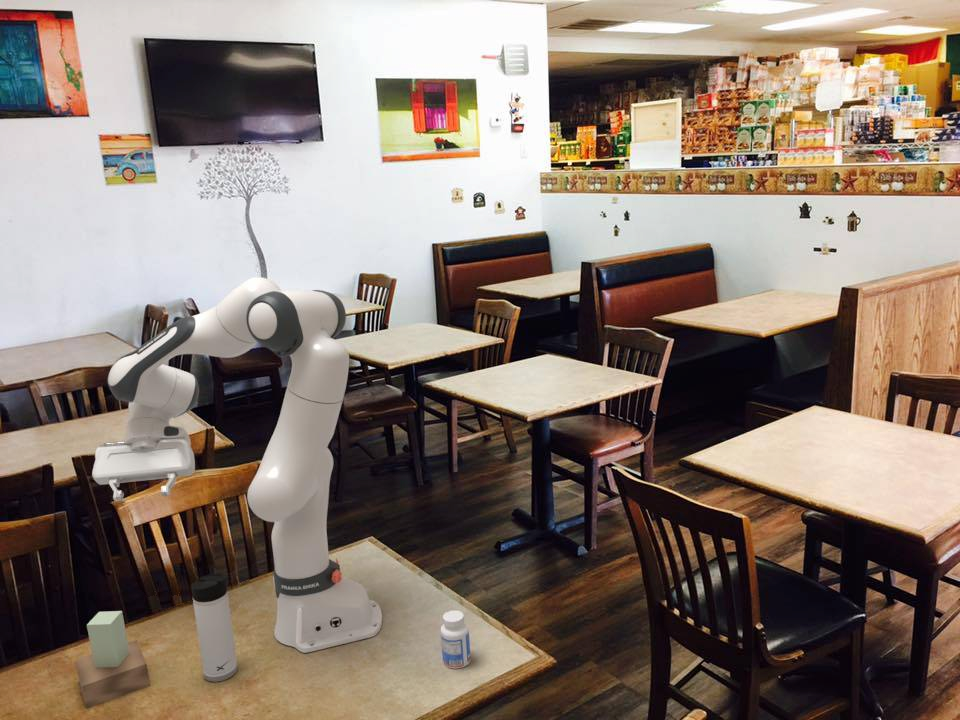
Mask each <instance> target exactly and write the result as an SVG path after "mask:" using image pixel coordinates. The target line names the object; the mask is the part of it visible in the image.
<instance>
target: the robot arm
mask: <svg viewBox="0 0 960 720" xmlns="http://www.w3.org/2000/svg"><path fill="white" fill-rule="evenodd" d="M346 318H347V314H346V309H345V306H344V304H343V301H341V299H340V298H339V297H337V295H335V294H334V293H331V292H329V291H325V290H320V289H313V290H311V289H310V290H307V289H300V288H299V289H298V288H295V289H285V290H281V288H280V287H279V286H278V285H277V284H276V283H275V282H273V281H272V280H270V279H269V278H266V277H262V276H261V277H260V276H254V277H251V278H248V279H247V280H245V281H244V282H241V283H240V284H238V286H236V287H234V288H233V289H232V291H230V292H229V293H228V294H226V295H225V296H224V297H223V298H222V299H221V300H220V301H219V302H218V303H217V304H215V305H214V306H213V307H211V308H209V309H207V310H205V311H203V312H200V313H198V314H195V315H190V316H184V317H181V318H179V319H177V320H176V321H174V322H173V323H172V324H170V325H169V326H167V327H166V328H165V329H164V328H163V330H161V331H160V332H159V333H157V334H156V335H154V336H153V337H152V338H150V339H149V340H147V341H146V342H145V343H143V344H142V345H140V346H139V347H138V348H137V349H135V350H133V351H131V352H128V353H126V354H124V355H123V356H120V358H118V359H117V360H116V361H115V362H114V363H113V364H112V366H111V368H110V370H109V372H108V375H107V385H108V388H109V390H110V392H111V393H112V395H113V396H114V398H115V399H116V400H117V401H122V402H126V403H127V402H128V409H127V411H128V414H129V417H128V420H127V421H126V427H125V428H126V429H125V435H124V436H125V437H124V440H121V441H113V442H111V441H109V442H104V443H103V444H101V445H99V446H98V447H97V448H96V449H95V452H94V453H95V454H94V459H95V460H94V463H93V466H92V467H93V468H92V472H91V473H92V474H91V476H92V479H93V480H94V481H95V482H96V483H97V484H98V485H100V486H102V485H109V486H110V488H111V489H112V491H113V495H112V499H113V500H114V502H123V501H124V495H125V494H124V492H123V491H122V490H120V489H118V488H120V484H122V483H130V482H133V483H134V482H141V481H153V480H162V479H168V480H167V482H166V484H165V485H161V487H160V495H161V497H171V490H172V488H173V487H174V486H175V484H176V483H177V482H178V481H177V480H178V478H182V477H191V476H192V475H193V474H194V473H195V471H196V463H195V462H196V460H195V459H196V458H195V454H194V450H193V448H192V447H191V445H192V442H191V441H192V440H191V437H190V435H189V434H188V432H187V431H186V430H185V428H183V427H180V426H174V425H170V421H171V419H173V418H174V419H176V418H178V417H180V416H182V415H184V414H186V413H188V412H190V411H191V410H192V409H193V408H194V407H195V406H196V405H197V403H198V399H199V394H200V387H199V383H198V379H197V378H196V376H195V375H194V374H192V373H190V372H188V371H184V370H182V369H180V368H176V367H173V366H169V365H166V364H165V363H167V362H168V361H170V360H171V359H172V358H174V357H176V356H181V355H203V356H210V357H216V358H228V359H229V358H235V357H236V358H237V357H239V356H241V355H243V354H246V353H247V352H249V351H250V350H251V349H253V348H254V347H255V346H256V345H257V344H260V345H261V346H262V347H264V348H267V349H269V350H270V351H272V353H273V354H274V355H276V356H278V357H279V358H286V357H290V360H291V372H290V374H289V375H290V376H289V378H288V382H287V386H286V389H285V393H284V398H283V402H282V405H281V409H280V414H279V417H278V420H277V424H276V426H275V428H274V431H273V434H272V435H271V438H270V440H269V442H268V444H267V447H266V449H265V452H264V454H263V457H262V460H261V462H260V465H259V467H258V469H257V471H256V474H255V476H254V477H253V479H252V481H251V483H250V485H249V486H248V490H247V494H246V495H247V502H248V506H249V508H250V509H251V511H252V512H253V514H254V515H255V516H257V517H258V518H260V519H261V520H262V521H266V522H270V523H274V524H273V527H272V531H271V547H272V553H273V554H272V556H273V564H274V569H273V573H272V575H273V576H272V580H273V587H274V588H273V590H274V593H275V597H276V599H277V602H276V603H277V605H276V606H277V607H276V621H275V627H274V632H273V633H274V637H275V639H276V640H277V641H278V642H279V643H281V644H283V645H286V646H288V647H293V648H295V649H297V650H298V651H299V652H301V653H303V654H304V653H305V654H306V653H312V652H315V651H320V650H323V649H328V648H332V647H336V646H340V645H344V644H348V643H353V642H357V641H361V640H364V639H369V638H373V637H375V636H376V635H377V634H378V633H379V632H380V630H381V628H382V626H383V625H382V624H383V613H382V610H381V606H380V605H379V603H378V602H376V601H375V600H373V599H370V598H369V594H368V592H367V590H366V588H365V587H364V586H363V585H362V584H361V583H359V582H357V581H355V580H352V579H350V578H348V577H346V576H345V575H343V573H342V572H341V567H340V564H339V560H338V558H336V559H335V561H334V560H332V559H330V554H329V545H328V535H327V534H328V533H327V520H328V519H327V517H328V507H329V498H330V497H329V495H330V481H331V476H332V472H333V468H334V457H333V455H332V452H331V450H330V449H329V448H328V447H329V444H330V442H331V440H332V439H333V437H334V434H335V430H336V426H337V423H338V420H339V415H340V411H341V408H342V404H343V401H344V397H345V392H346V390H347V389H346V388H347V383H348V375H349V367H350V354H349V351H348V349H347V348H346V346H345V345H344V344H343V343H342V342H341V341H338V340H337V339H334V338H336V337H337V336H338V335H340V333H341V332H342V331H343V329H344V327H345V325H346V320H347V319H346Z"/></svg>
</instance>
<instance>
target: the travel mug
mask: <svg viewBox="0 0 960 720" xmlns="http://www.w3.org/2000/svg"><path fill="white" fill-rule="evenodd" d="M227 581H228V580H227V576H226V575H225V574H224V573H221V572H215V573H209V574H206V575H204V576H201V577H199V578H198V579H197V580H195V581H194V582H193V584H192V585H191V586H190V587H191V593H192V600H193V601H192V603H193V610H194V617H195V624H196V630H197V631H196V632H197V638H198V644H199V645H198V646H199V652H200V659H201V665H202V672H203V677H204V679H205V680H206V681H208V682H212V683H213V682H222V681H226V680H228V679H230V678H232V677H233V676H234V675H235V674H236V673H237V671H238V661H237V654H236V653H237V652H236V645H235V637H234V630H233V624H232V623H233V622H232V614H231V608H230V601H229V594H228V587H227Z"/></svg>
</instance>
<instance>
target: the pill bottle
mask: <svg viewBox="0 0 960 720" xmlns="http://www.w3.org/2000/svg"><path fill="white" fill-rule="evenodd" d="M440 639H441V640H440V641H441V652H442V654H441V655H442V662H443V664H444V666H446V667H447V668H449V669H454V670H455V669H461V668H465V667H467V666H468V665H469V663H470V662H471V645H470V644H471V643H470V631H469V625H468V624H467V622H465V615H464V613H463V612H462V611H460V610H457V609H456V610H449V611H446V612H445V613H444V614H443V615H442V625H441V627H440Z"/></svg>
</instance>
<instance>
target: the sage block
mask: <svg viewBox="0 0 960 720" xmlns="http://www.w3.org/2000/svg"><path fill="white" fill-rule="evenodd" d="M86 629H87V632H88V633H87V634H88V639H89V645H90V649H91V655H93V660H94V666H95V668H105V667H119V666H120V664H121V663H122V662H123V661H124V659H125V658H126V657H127V656H128V654H129V653H130V652H129V646H128V643H129V641H128V635H127V631H126V627H125V620H124V615H123V611H122V610H115V611H114V610H112V611H111V610H110V611H98V612H97V613H96V614H95V615H94V616H93V618H92V619H90V620H89V622H88V623H87V624H86Z"/></svg>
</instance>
